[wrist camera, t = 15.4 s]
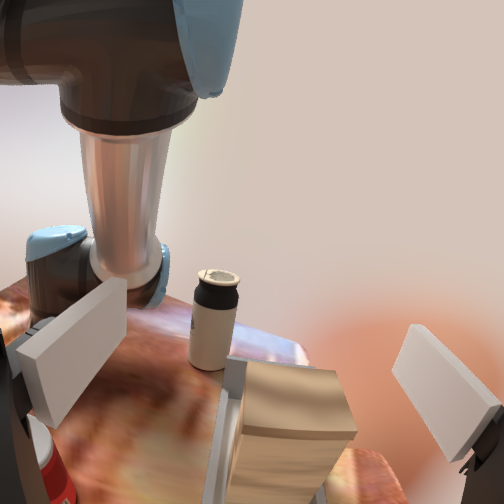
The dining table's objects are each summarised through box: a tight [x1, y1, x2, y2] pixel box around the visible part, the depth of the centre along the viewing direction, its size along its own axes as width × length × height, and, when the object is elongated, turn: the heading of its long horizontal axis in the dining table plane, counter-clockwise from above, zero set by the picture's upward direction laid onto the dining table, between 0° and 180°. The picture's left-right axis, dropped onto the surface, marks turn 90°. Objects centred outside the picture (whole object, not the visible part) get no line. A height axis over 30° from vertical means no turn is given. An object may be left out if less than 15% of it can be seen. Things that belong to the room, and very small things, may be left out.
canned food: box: [27, 414, 76, 504], centre depth 16 cm, size 8×8×11 cm
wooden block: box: [224, 361, 358, 504], centre depth 26 cm, size 9×9×16 cm
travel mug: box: [188, 269, 240, 371], centre depth 54 cm, size 8×8×18 cm
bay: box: [201, 355, 327, 504], centre depth 32 cm, size 26×14×9 cm, turn 179°
